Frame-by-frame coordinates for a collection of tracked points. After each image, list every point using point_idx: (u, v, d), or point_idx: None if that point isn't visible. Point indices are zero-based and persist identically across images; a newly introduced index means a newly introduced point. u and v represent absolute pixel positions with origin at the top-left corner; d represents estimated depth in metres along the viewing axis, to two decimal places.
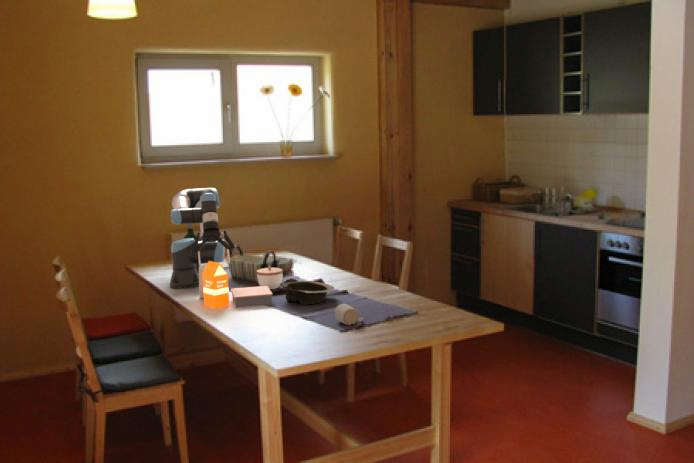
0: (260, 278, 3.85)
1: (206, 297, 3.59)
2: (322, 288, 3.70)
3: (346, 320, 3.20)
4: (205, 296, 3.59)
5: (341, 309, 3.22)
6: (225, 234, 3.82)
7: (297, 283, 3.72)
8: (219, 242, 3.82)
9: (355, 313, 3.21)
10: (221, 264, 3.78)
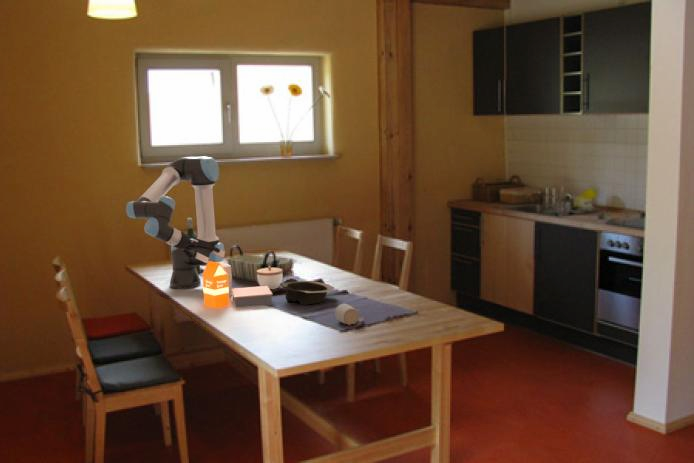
0: (260, 278, 3.85)
1: (206, 297, 3.59)
2: (322, 288, 3.70)
3: (346, 320, 3.20)
4: (205, 296, 3.59)
5: (342, 309, 3.22)
6: (197, 244, 3.56)
7: (297, 283, 3.72)
8: None
9: (355, 313, 3.21)
10: (229, 266, 3.72)
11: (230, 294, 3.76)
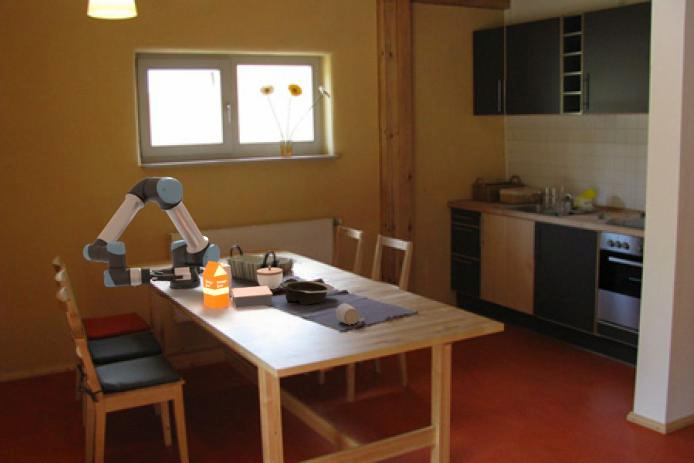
0: (260, 278, 3.85)
1: (206, 297, 3.59)
2: (322, 288, 3.70)
3: (347, 320, 3.20)
4: (205, 296, 3.59)
5: (342, 309, 3.22)
6: None
7: (297, 283, 3.72)
8: (163, 273, 3.49)
9: (356, 313, 3.21)
10: (229, 265, 3.74)
11: (230, 295, 3.76)
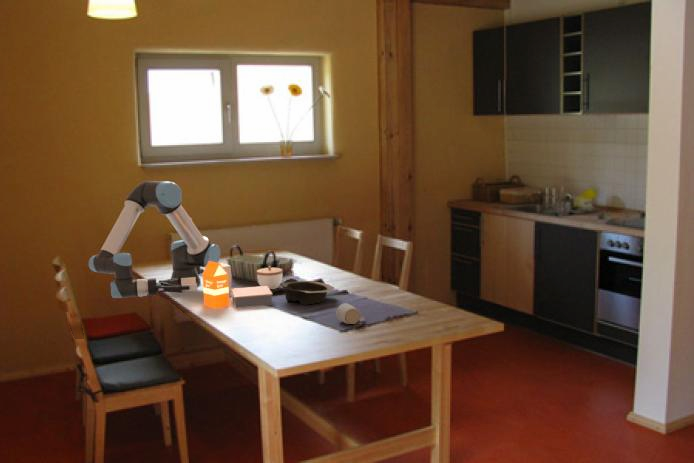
0: (260, 278, 3.85)
1: (206, 297, 3.59)
2: (322, 288, 3.70)
3: (348, 320, 3.20)
4: (205, 296, 3.59)
5: (343, 309, 3.23)
6: None
7: (297, 283, 3.72)
8: (170, 284, 3.50)
9: (357, 313, 3.22)
10: (229, 265, 3.74)
11: (230, 295, 3.76)
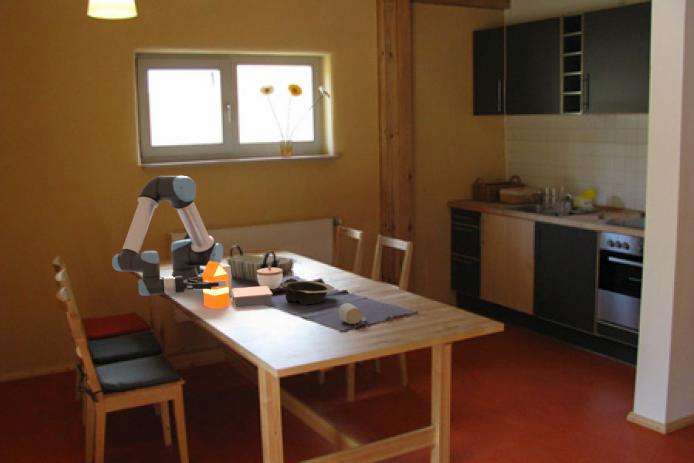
0: (260, 278, 3.85)
1: (206, 297, 3.59)
2: (322, 288, 3.70)
3: (349, 319, 3.21)
4: (205, 296, 3.59)
5: (345, 309, 3.23)
6: None
7: (297, 283, 3.72)
8: (197, 281, 3.54)
9: (358, 312, 3.22)
10: (229, 265, 3.74)
11: (230, 295, 3.76)
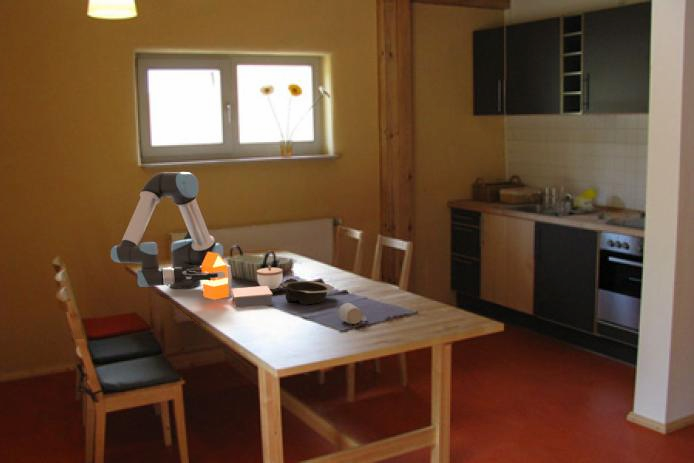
0: (260, 278, 3.85)
1: (205, 288, 3.58)
2: (322, 288, 3.70)
3: (350, 319, 3.21)
4: (204, 287, 3.58)
5: (345, 308, 3.23)
6: None
7: (297, 283, 3.72)
8: (196, 272, 3.53)
9: (359, 312, 3.22)
10: (229, 265, 3.74)
11: (230, 295, 3.76)
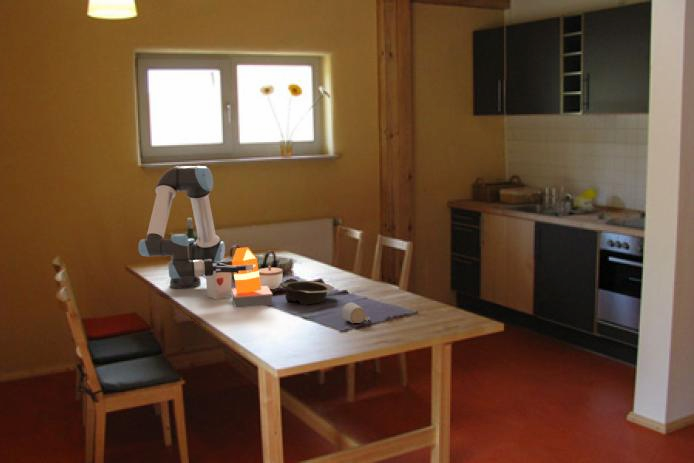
0: (260, 278, 3.85)
1: (238, 284, 3.60)
2: (322, 288, 3.70)
3: (353, 319, 3.21)
4: (236, 283, 3.60)
5: (349, 308, 3.24)
6: None
7: (297, 283, 3.72)
8: (226, 264, 3.56)
9: (362, 312, 3.23)
10: None
11: (230, 295, 3.76)
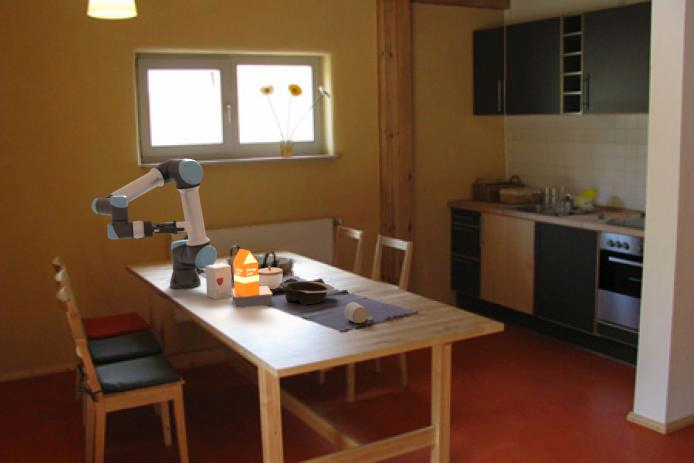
0: (260, 278, 3.85)
1: (236, 285, 3.59)
2: (322, 288, 3.70)
3: (355, 318, 3.22)
4: (235, 283, 3.60)
5: (351, 308, 3.24)
6: None
7: (297, 283, 3.72)
8: (165, 226, 3.58)
9: (364, 311, 3.23)
10: (229, 265, 3.74)
11: (230, 295, 3.76)
